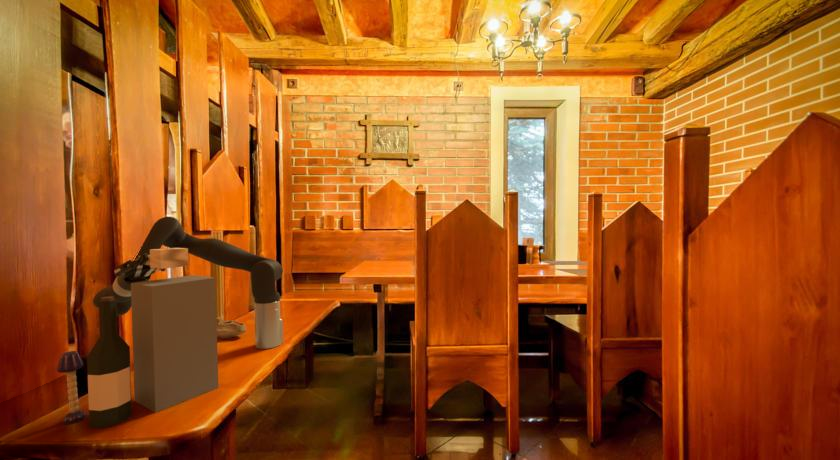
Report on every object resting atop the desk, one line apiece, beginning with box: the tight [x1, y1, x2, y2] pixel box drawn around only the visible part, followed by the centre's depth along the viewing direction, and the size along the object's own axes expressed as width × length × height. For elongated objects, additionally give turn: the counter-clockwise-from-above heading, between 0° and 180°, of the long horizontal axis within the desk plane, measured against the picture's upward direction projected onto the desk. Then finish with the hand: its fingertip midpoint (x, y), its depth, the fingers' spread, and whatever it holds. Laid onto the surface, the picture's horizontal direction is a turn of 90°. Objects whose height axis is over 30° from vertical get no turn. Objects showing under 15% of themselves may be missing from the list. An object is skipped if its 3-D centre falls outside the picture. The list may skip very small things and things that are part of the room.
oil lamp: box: [217, 316, 248, 339], centre depth 155 cm, size 11×15×8 cm
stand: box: [131, 274, 219, 413], centre depth 102 cm, size 16×12×32 cm
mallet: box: [138, 247, 189, 269], centre depth 106 cm, size 7×19×5 cm, turn 59°
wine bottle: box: [86, 296, 133, 429], centre depth 89 cm, size 8×8×30 cm
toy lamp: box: [56, 350, 87, 425], centre depth 89 cm, size 5×5×17 cm
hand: (152, 255), depth 108 cm, fingers closed on mallet, 2 cm apart
